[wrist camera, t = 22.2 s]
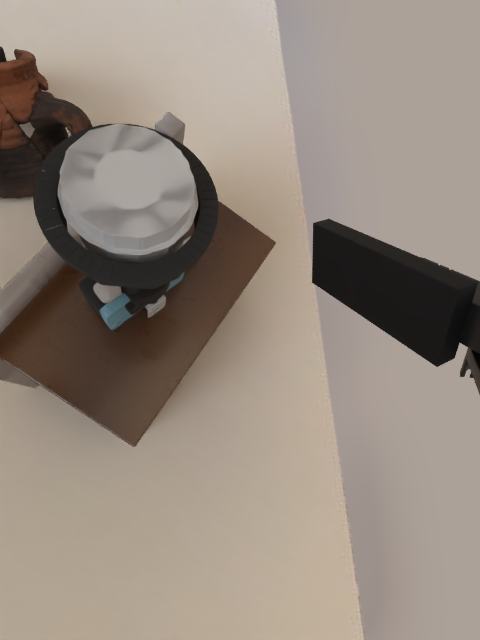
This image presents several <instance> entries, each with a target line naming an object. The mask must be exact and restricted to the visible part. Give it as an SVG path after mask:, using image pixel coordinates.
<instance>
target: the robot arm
mask: <svg viewBox="0 0 480 640" xmlns="http://www.w3.org/2000/svg"><path fill="white" fill-rule="evenodd" d="M312 283H314V284H315V285H317V286H318V287H320V288H321V289H323V290H324V291H326V292H327V293H329V294H330V295H332V296H333V297H335V298H336V299H337V300H339V301H341V302H342V303H343V304H345V305H346V306H348V307H349V308H351V309H352V310H354V311H355V312H357V313H358V314H360V315H361V316H363V317H364V318H366V319H367V320H369V321H370V322H371V323H373V324H374V325H376V326H377V327H379V328H380V329H382V330H383V331H385V332H386V333H388V334H389V335H391V336H392V337H394V338H395V339H397V340H398V341H399V342H401V343H402V344H404V345H406V346H407V347H408V348H410V349H411V350H413V351H414V352H416V353H417V354H419V355H420V356H422V357H423V358H425V359H426V360H428V361H429V362H430V363H432V364H434V365H435V366H437V367H438V366H440V365H442V364H444V363H446V362H448V361H450V360H452V359H454V358H455V355H456V351H457V349H458V345H459V342H460V343H462V344H463V345H465V346H467V347H468V350H467V353H466V356H465V359H464V362H463V365H462V368H461V371H460V377H464V376H465V373H466V371H467V370H468V369H470V370H471V374H470V377H471V378H474V380H475V383H476V386H477V388H478V391H479V394H480V281H478V280H475V279H473V278H470V277H468V276H466V275H463V274H461V273H459V272H456V271H454V270H449V268H447V267H444V266H442V265H440V266H439V265H438V264H437V263H435V262H432V261H430V260H428V259H425V258H421V257H418V256H415V255H413V254H410V253H408V252H406V251H403V250H401V249H399V248H396V247H394V246H392V245H389V244H387V243H384V242H382V241H380V240H377V239H375V238H373V237H370V236H368V235H366V234H363V233H361V232H358V231H356V230H354V229H352V228H349V227H347V226H344V225H342V224H340V223H337V222H335V221H333V220H330V219H327V220H323V221H319V222H316V223H313V267H312Z"/></svg>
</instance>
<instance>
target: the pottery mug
mask: <svg viewBox="0 0 480 640" xmlns="http://www.w3.org/2000/svg"><path fill="white" fill-rule="evenodd" d="M14 54H15V57H16V60H12V61H7V60H6V57H5V53H4V50H3V48H2V47H0V198H21V197H27V196H32V195H33V194H34V185H35V180H36V177H37V174H38V171H39V169H40V167H41V165H42V163H43V162H44V160H45V159H46V157H47V156H48V155H49V153H50V152H51V151H52V150H53V149H54V148H55V147H56V146H57V145H58V144H59V143H61V142H62V141H64V140H65V139H66V138H68V133H67V131H66V129H65V127H67V128H68V130H69V131H70V133H71V134H72V135H73V134H75V133H77V132H80V131H82V130H85V129H88V128H91V127H92V124H91V122H90V120H89V118H88V117H87V115H86V114H85V113H84V112H83V111H82V110H81V109H80V108H79V107H77V106H75V105H74V104H72V103H70V102H68V101H65V100H61V99H57V98H55V97H54V96H53V95H52V94H51V93H49V92H42V90H44V91H46V90H48V83H47V80H46V79H45V77H44V76H42V75H41V74H40V73H39V72H38V69H37V66H36V59H35V56H34V55H33V54H31V53H30V52H27V51H24V50H18V49H15V51H14ZM41 89H42V90H41ZM29 121H30V122H31V124H32V126H33V128H34V129H35V130H34V132H33V135H32V136H31V138H29V137H27V136H26V135H25V133H24V132H23V130H22V129H21V127H20V126H19V125H20V124H26V123H28V122H29Z"/></svg>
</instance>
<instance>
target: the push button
mask: <svg viewBox="0 0 480 640" xmlns="http://www.w3.org/2000/svg"><path fill="white" fill-rule="evenodd" d="M33 200H34V209H35V214H36V217H37V220H38V223H39V226H40V228H41V230H42V232H43V234H44V235H45V237H46V239H47V240H48V242H49V244H50V245H51V247H52V248H53V249H54V250H55V252H56V253H57V254H58V255H59V256H60V257H61V258H62V259H63V260H64V261H65V262H67V263H68V264H69V265H70V266H72V267H73V268H74V269H76V270H78V271H79V272H81V273H83V274H85V275H86V276H87V277H86V278H84V279H83V280H81V281H80V282H79V284H78V286H79V288H80V289H81V291H82V293H83V295H84V297H85V299H86V300H87V301H88V302H89V304H90V305H91V306H92V307H93V308H94V310H95V311H96V312H97V313H98V315H99V316H100V317H101V318H102V319H103V321H104V322H105V323H106V324H107V325H108V327H109V328H110V329H111V330H114V329H116V328H117V327H119V326H120V325H121V324H123V322H125V321H126V320H127V319H129V318H130V317H131V316H133V315H134V314H136V313H137V312H138V311H140V310H141V309H143V308H144V307H145V308H146V309H147V310H148V318H149V317H151V316H153V315H154V314H156V313H157V312H158V311H160V310H161V309H162V308H163V307H164V306H165V304H166V297H165V296H164V295H163V294H164V293H165V292H166V291H168V290H169V289H171V288H172V287H173V286H175V285H176V284H178V283H179V282H180V281H181V280H182V279H183V276H184V272H185V271H187V270H188V269H189V268H191V267H192V266H193V265H194V264H195V263H196V262H197V261H198V260H199V259H200V258H201V257H202V255H203V254H204V253H205V251H206V250H207V248H208V246H209V244H210V242H211V240H212V238H213V235H214V232H215V229H216V226H217V221H218V198H217V193H216V189H215V186H214V184H213V181H212V179H211V177H210V175H209V173H208V171H207V170H206V168H205V167H204V165H203V164H202V163H201V161H200V160H199V159H198V158H197V157H196V156H195V155H194V154H193V153H192V152H191V151H190V150H189V149H188V148H187V147H185V146H184V145H183V144H181V143H180V142H178V141H177V140H175V139H174V138H172V137H170V136H168V135H166V134H164V133H161V132H159V131H156V130H154V129H150V128H147V127H143V126H138V125H131V124H106V125H99V126H95V127H91V128H88V129H85V130H82V131H80V132H77V133H75V134H73V135H72V136H70V137H68V138H66V139H65V140H64V141H62V142H61V143H59V144H58V145H57V146H56V147H55V148H54V149H53V150H52V151H51V152H50V153H49V155H48V156H47V157H46V159H45V160H44V162H43V163H42V165H41V167H40V169H39V171H38V174H37V177H36V180H35V185H34V194H33ZM193 220H194V232H193V234H192V235H191V236H190V237H189V238H187V239H186V240H184V237H185V233H186V232H187V231H188V230H189V229H190V227H191V226H192V223H193ZM67 222H68V223H69V224H70V225H71V226H72V227H73V228H74V229H75V230H76V231H77V232H78V234H79V236H80V239H81V242H82V245H83V246H82V245H80V244H79V243H78V242H77V241H76V240H75V239H74V238H73V237H72V236H71V235H70V233H69V232H68V229H67ZM157 308H158V309H157ZM156 309H157V310H156Z"/></svg>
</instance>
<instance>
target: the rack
mask: <svg viewBox="0 0 480 640" xmlns="http://www.w3.org/2000/svg"><path fill="white" fill-rule="evenodd" d="M155 130H156V131H159V132H161V133H164V134H166V135H168V136H170V137H172V138H174V139H175V140H177V141H178V142H180V143H181V144H183V138H184V131H185V124H184V123H183V122H182V121H180V120H179V119H178V118H176V117H175V116H174V115H172V114H171V113H170V112H167V113H166V114H165V115H164V116H163V117H162V118H161V119H160V120H159V121H158V122H157V123H156V124H155ZM67 229H68V232H69V233H70V235H71V236H72V237H73V238H74V239H75V240H76V241H77V242H78V243H79V244H80V245H82V242H81V239H80V236H79V234H78V232H77V231H76V230H75V229H74V228H73V227H72V226H71V225H70V224H69V223H67ZM193 232H194V220H193V223H192V226H191V227H190V229H189V230H188V231H187V232H186V233H185V237H184V240H186V239H187V238H189V237H190V236H191V235H192V234H193ZM275 244H276V242H275V241H273V240H272V239H270V238H269V237H268V236H266V235H265V234H264V233H262V232H261V231H259V230H258V229H257V228H255V227H254V226H252V225H251V224H250V223H248V222H247V221H246V220H244V219H243V218H241V217H240V216H239V215H237V214H236V213H235V212H233V211H232V210H230V209H229V208H228V207H226V206H225V205H223V204H222V203H221V202H219V201H218V221H217V226H216V229H215V232H214V235H213V238H212V240H211V242H210V244H209V246H208V248H207V250H206V251H205V253H204V254H203V255H202V257H201V258H200V259H199V260H198V261H197V262H196V263H195V264H194V265H193V266H192V267H191V268H189V269H188V270H187V271H185V272H184V276H183V279H182V280H181V281H180V282H179V283H178V284H176V285H175V286H173V287H172V288H171V289H169V290H168V291H166V292H165V293H164V294H163V295H164V296H165V297H166V304H165V306H164V307H163V308H162V309H161V310H160V311H158V312H157V313H156V314H154V315H153V316H151V317H149V318H148V310H147V309H146V308H145V307H144V308H143V309H141V310H140V311H138V312H137V313H136V314H134V315H133V316H131V317H130V318H129V319H127V320H126V321H125V322H123V324H121V325H120V326H119V327H117V328H116V329H114V330H111V329H110V328H109V327H108V325H107V324H106V323H105V322H104V321H103V319H102V318H101V317H100V316H99V315H98V313H97V312H96V311H95V310H94V308H93V307H92V306H91V305H90V304H89V302H88V301H87V300H86V299H85V297H84V295H83V293H82V291H81V289H80V288H79V286H78V284H79V282H80V281H81V280H83V279H84V278H86V277H87V276H86V275H85V274H83V273H81V272H79V271H78V270H76V269H74V268H73V267H72V266H70V265H69V264H68V263H67V262H65V261H64V260H63V259H62V258H61V257H60V256H59V255H58V254H57V253H56V252H55V250H54V249H53V248H52V247H51V245H50V244H49V242H48V243H47V244H46V245H45V246H44V247H43V248H42V249H41V250H40V251H39V252H38V253H37V254H36V255H35V256H34V257H33V258H32V259H31V260H30V261H29V262H28V263H27V264H26V265H25V266H24V267H23V268H22V269H21V270H20V271H19V272H18V273H17V274H16V275H15V276H14V277H13V278H12V279H11V280H10V281H9V282H8V283H7V284H6V285H5V286H4V287H3V288H2V289H1V290H0V380H2V381H7V382H11V383H15V384H20V385H24V386H29V387H33V388H36V387H37V385H38V384H39V385H41V386H42V387H44V388H45V389H47V390H48V391H50V392H51V393H53V394H54V395H56V396H57V397H59V398H60V399H62V400H63V401H65V402H66V403H68V404H69V405H71V406H72V407H74V408H76V409H77V410H79V411H80V412H82V413H83V414H85V415H86V416H88V417H89V418H91V419H92V420H94V421H95V422H97V423H98V424H100V425H101V426H103V427H104V428H106V429H107V430H109V431H110V432H112V433H113V434H115V435H116V436H118V437H119V438H121V439H122V440H124V441H125V442H127V443H128V444H130V445H131V446H133V447H135V446H136V445H137V443H138V442H139V440H140V439H141V437H142V436H143V435H144V433H145V432H146V430H147V429H148V427H149V426H150V424H151V423H152V422H153V420H154V419H155V417H156V416H157V414H158V413H159V411H160V410H161V409H162V407H163V406H164V404H165V403H166V401H167V400H168V399H169V397H170V396H171V394H172V393H173V391H174V390H175V388H176V387H177V386H178V384H179V383H180V381H181V380H182V378H183V377H184V375H185V374H186V373H187V371H188V370H189V368H190V367H191V365H192V364H193V362H194V361H195V360H196V358H197V357H198V355H199V354H200V352H201V351H202V349H203V348H204V347H205V345H206V344H207V342H208V341H209V339H210V338H211V336H212V335H213V334H214V332H215V331H216V329H217V328H218V326H219V325H220V323H221V322H222V321H223V319H224V318H225V316H226V315H227V313H228V312H229V310H230V309H231V308H232V306H233V305H234V303H235V302H236V300H237V299H238V297H239V296H240V295H241V293H242V292H243V290H244V289H245V287H246V286H247V284H248V283H249V282H250V280H251V279H252V277H253V276H254V274H255V273H256V271H257V270H258V269H259V267H260V266H261V264H262V263H263V261H264V260H265V258H266V257H267V256H268V254H269V253H270V251H271V250H272V248H273V247H274V245H275ZM82 246H83V245H82ZM157 309H158V308H157ZM157 309H156V310H157Z"/></svg>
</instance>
